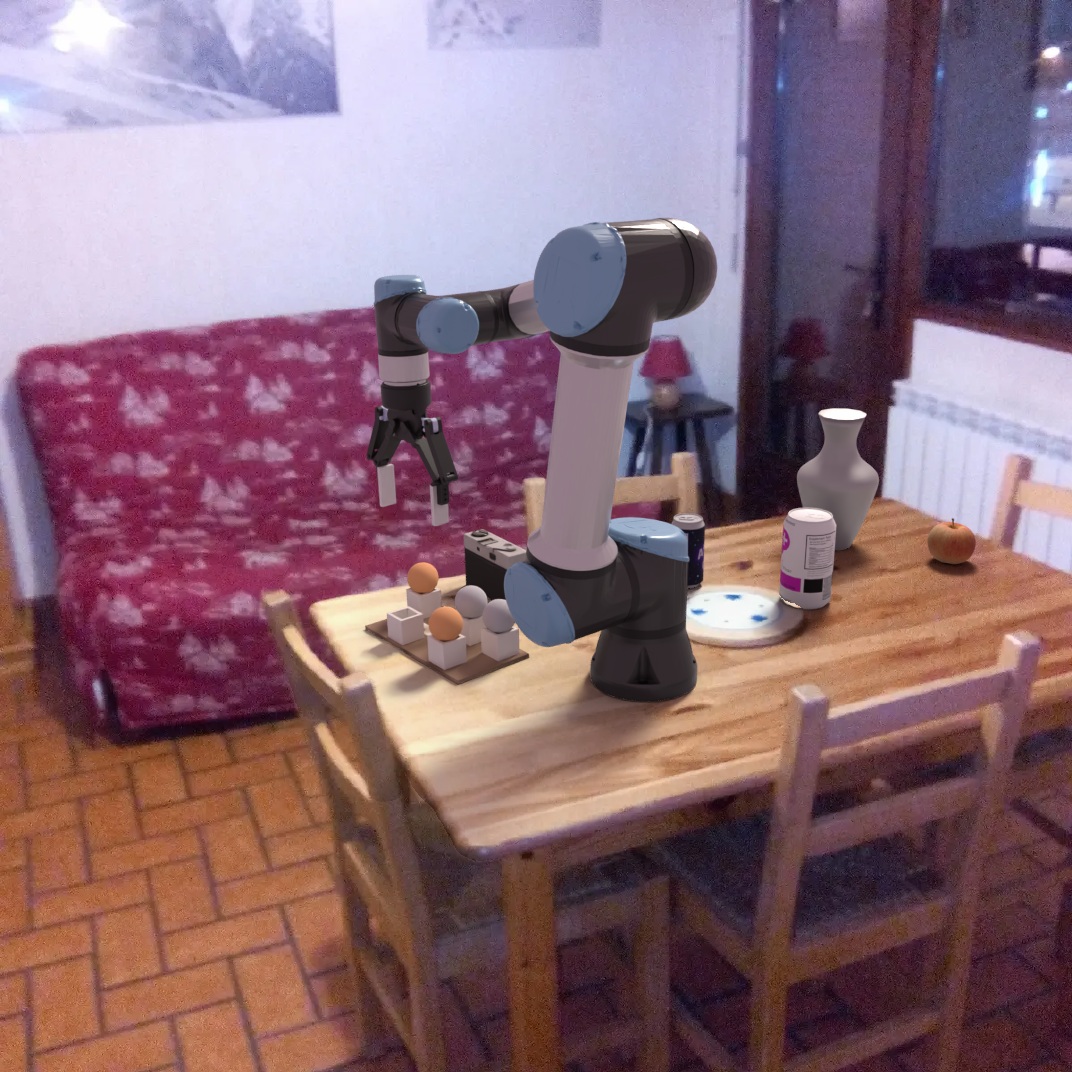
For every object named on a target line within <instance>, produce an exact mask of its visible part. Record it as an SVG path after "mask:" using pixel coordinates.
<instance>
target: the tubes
mask: <svg viewBox="0 0 1072 1072" xmlns="http://www.w3.org/2000/svg"><path fill="white" fill-rule="evenodd" d="M405 591H406V604H407V605H406V606H405V607H402V608H398V609H395V610H393V611H388V612H386V619H387V625H388V637H389V638H391V639H393V640H394V641H396V642H398V643H399V644H401V645H405V644H408V643H411V642H414V641H417V640H420V639H423V638H424V621H423V619H425V618H428V617H430V616H431V614H432V613H433V612H434V611H435V610H436V609H438V608H441V607H443V606H442V605H443V603H442V602H443V601H442V590H441V589H440V588H438V587H437V586H436V587H435V588H434V589H433V590H432V591H431V592H428V593H425V594H421V593H417V592H415V591H413V590H412V589H411V588H410V587H409V588H406V589H405ZM461 617H462V619H463V628H462V631H461V633H460V634H459V636H458V637H456V638H455V639H453V640H450V641H441V640H438V639H436V638H435V637H434V636H433V635H429V636H427V639H428V656H429V661H430V662H432V663H433V664H435V665H437V666H439V667H440V668H442V669H444V670H446V669H448V668H451V667H454V666H457V665H459V664H462V663H465V662H467V655H466V644H467V645H469V646H471V645H474V644H477V643H479V642H481V645H482V653H484V654H486V655H487V656H489V657H491V658H493V659H495V660H497V661H501V660H503V659H506V658H509V657H511V656H514V655H517V654H519V653H520V652H519V649H520V629H519V627H516V626H515V625H513V627H512V628H511V629H510V630H508V631H506V632H504V633H495V632H492V631H490V630H489V629H488V628H487V627H486V626H485V624H484V622H483V618H482V615H481V616H479V617H476V618H472V619H471V618H465V617H463V616H462V615H461Z"/></svg>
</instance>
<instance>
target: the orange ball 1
mask: <svg viewBox="0 0 1072 1072" xmlns="http://www.w3.org/2000/svg"><path fill="white" fill-rule="evenodd" d="M406 577H407V578H406V579H407V580H406V581H407V584H408V586H409V588H411V589H412V590H413V591H415V592H417V593H421V594H425V593H428V592H431V591H432V590H433V589H434V588H435V587H436V588H437V585H438V583H439V573H438V570H437V569H436V567H435V566H434V565H433V564H431V563H428V562H423V561H422V562H418V563H415V564H413V565H412V566H411V567H410V568H409V570H408V572H407V576H406Z"/></svg>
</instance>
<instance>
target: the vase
mask: <svg viewBox="0 0 1072 1072" xmlns="http://www.w3.org/2000/svg"><path fill="white" fill-rule="evenodd" d="M817 415H818V417H819V419H820V423H821V425H822V430H823V434H824V442H823V443H824V444H823V446H822V449H821V450H820V452H818V454H817V455H816V456H815V457H814V458H812V459H810V460H808V461H807V462H805V464H803V465H802V466H801V467H799V470H798V471H797V474H796V481H797V482H796V483H797V488H798V492H799V497H800V500H801V506H802V508H817V509H823V510H826V511H828V512H830V513H832V515H833V519H834V521H835V523H836V537H835V550H834V551H843V550H848V549H850V547H851V546H852V544H853V543H854V541H855V539H856V538H857V536H858V534H859V533H860V530H861V528H862V526H863V524H864V521H865V520H866V517H867V515H868V512H869V511H870V508H871V506H872V504H873V501H874V498H875V496H876V493H877V490H878V488H879V487H878V486H879V484H880V483H879V482H880V479H879V474H878V472H877V470H876V469H874V468H873V466H871V465H870V464H869V463H867V462H866V461H865V460H864V459H863V458H862V457H861V455H860V453H859V450H858V446H857V438H858V436H859V433H860V430H861V428H862V426H863V423H864V421H865V418H866V417H867V413H866V412H864V411H862V410H858V409H851V408H839V407H838V408H827V409H822V410H820V411H819V412H818V414H817ZM847 548H848V549H847Z"/></svg>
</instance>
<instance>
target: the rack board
mask: <svg viewBox="0 0 1072 1072" xmlns="http://www.w3.org/2000/svg"><path fill="white" fill-rule="evenodd" d="M429 618H430V617H428V618H425V619H423V621H424V638H423V639H420V640H417V641H414V642H411V643H408V644H405V645H401V644H399V643H398V642H396V641H394V640H393V639H391V638H389V637H388V625H387V618H385V619H381V620H379V621H376V622H373V623H369V624H367V625H365V626H364V627H365V629H364V630H366V631H368V632H370V633H371V634H372V635H374V636H376V637H378V639H381V640H383V641H385V642H386V643H388V644H389V645H391V646H392V647H394V648H396V649H397V650H400V651H401V652H403V653H405V654H406V655H408V656H410V657H411V658H412V659H414V660H416V661H418V662H420V663H422V664H423V665H425V666H426V667H428V668H430V669H431V670H433V671H434V672H437V673H438V674H440V675H441V676H443V677H444V678H446V679H448V680H450V681H451V682H454V684H457V685H460V684H463V683H465V682H467V681H471V680H472V679H476V678H479V677H481V676H484V675H486V674H489V673H491V672H494V671H497V670H500V669H501V668H504V667H507V666H511V665H512V664H515V663H517V662H520V661H523V660H526V659H529V658H530V653H529V652H527V651H525V650H523V649H521V648H519V652H520V653H519V654H517V655H514V656H511V657H509V658H506V659H503V660H501V661H497V660H495V659H493V658H491V657H489V656H487V655H486V654H484V653H482V645H481V642H479V643H477V644H474V645H471V646H469V645H467V644H466V655H467V662H465V663H462V664H459V665H457V666H454V667H451V668H448V669H446V670H444V669H442V668H440V667H439V666H437V665H435V664H433V663H432V662H430V661H429V656H428V639H427V636H429V635H432V634H431V632H430V630H429Z"/></svg>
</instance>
